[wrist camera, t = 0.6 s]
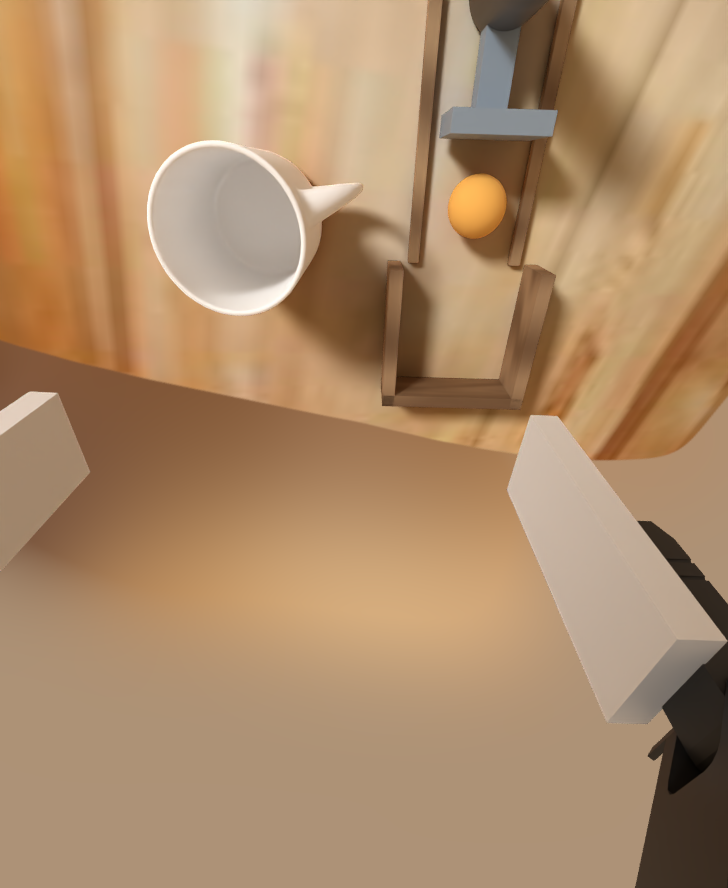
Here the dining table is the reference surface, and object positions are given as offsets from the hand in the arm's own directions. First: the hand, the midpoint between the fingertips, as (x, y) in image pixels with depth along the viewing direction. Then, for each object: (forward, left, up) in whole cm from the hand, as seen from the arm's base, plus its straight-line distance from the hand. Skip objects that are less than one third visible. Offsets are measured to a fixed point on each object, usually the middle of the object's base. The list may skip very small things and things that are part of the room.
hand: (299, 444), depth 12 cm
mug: (-4, -4, -26) cm, 26 cm away
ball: (-5, +10, -24) cm, 26 cm away
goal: (+5, +10, -26) cm, 28 cm away
